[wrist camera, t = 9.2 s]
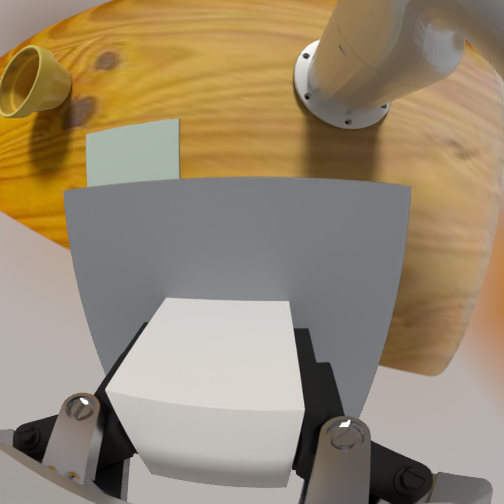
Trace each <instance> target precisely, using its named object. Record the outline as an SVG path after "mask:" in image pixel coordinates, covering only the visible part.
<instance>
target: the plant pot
mask: <svg viewBox="0 0 504 504" xmlns="http://www.w3.org/2000/svg"><path fill="white" fill-rule="evenodd" d="M71 85H72V77H71V74H70V72H69V71H68V70H67V69H66V68H64V67H63V66H62V65H61V64H59V63H58V62H57V61H56V60H55V58H54V56H53V54H52V53H51V52H50V51H49V50H47V49H44V48H42V47H39V46H36V45H30V46H27V47H25V48H23V49H22V50H20V51H19V52H18V53H17V54H16V55H15V56H14V57H13V58H12V60H11V61H10V62H9V64H8V66H7V67H6V69H5V71H4V73H3V75H2V78H1V80H0V114H1V115H2V116H3V117H5V118H23V117H27V116H29V115H30V114H32V113H33V112H37V111H42V110H48V109H54V108H56V107H58V106H60V105H61V104H62V103H63V102H64V101H65V99H66V98H67V96H68V94H69V92H70V89H71Z"/></svg>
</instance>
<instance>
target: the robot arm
mask: <svg viewBox="0 0 504 504" xmlns="http://www.w3.org/2000/svg"><path fill="white" fill-rule="evenodd" d="M465 39H466V40H467V41H468V42H469V43H470V44H471V45H472V46H473V47H474V48H475V49H476V50H477V51H478V52H479V53H480V54H481V55H482V56H483V57H484V59H485V60H487V61H488V62H489V63H490V64H491V66H492V67H493V68H494V69H495V70H496V72H497V73H498V74H499V75H500V77H501V78H502V79H503V81H504V0H338V2H337V4H336V6H335V9H334V11H333V13H332V15H331V17H330V19H329V22H328V24H327V26H326V28H325V30H324V32H323V35H322V37H321V39H319V40H317V41H314V42H312V43H311V44H309V45H308V46H306V47H305V48H304V49H303V50H302V51H301V53H300V55H299V56H298V58H297V60H296V63H295V67H294V72H293V75H294V85H295V89H296V92H297V94H298V96H299V98H300V100H301V101H302V103H303V104H304V106H305V107H306V108H307V109H308V110H309V111H310V112H311V113H312V114H313V115H314V116H316V117H317V118H318V119H320V120H321V121H323V122H325V123H327V124H329V125H332V126H335V127H338V128H343V129H360V128H365V127H368V126H370V125H373V124H374V123H376V122H378V121H379V120H380V119H381V118H382V117H383V116H384V115H385V114H386V113H387V111H388V110H389V108H390V105H391V102H392V101H394V100H396V99H398V98H401V97H403V96H405V95H408V94H410V93H412V92H415V91H417V90H419V89H422V88H424V87H427V86H429V85H432V84H434V83H437V82H439V81H441V80H443V79H445V78H447V77H448V76H449V75H451V74H452V73H453V72H454V71H455V69H456V68H457V66H458V65H459V63H460V61H461V59H462V55H463V51H464V46H465ZM304 57H306V58H307V59H304ZM306 96H307V97H309V99H308V100H307V99H305V97H306ZM381 106H382V107H383V108H381ZM345 121H347V122H348V125H347V124H345ZM148 323H149V322H144V323H143V325H142V326H141V328H140V329H139V330H138V332H137V333H136V335H135V336H134V338H133V339H132V340H131V342H130V343H129V345H128V346H127V348H126V349H125V351H124V352H123V353H122V354H121V355H120V356H119V358H118V359H117V361H116V362H115V364H114V365H113V367H112V368H111V370H110V371H109V373H108V374H107V376H106V377H105V379H104V380H103V382H102V383H101V385H100V386H99V388H98V389H97V391H96V392H95V394H94V395H91V394H88V393H77V394H74V395H72V396H70V397H68V398H67V399H66V400H65V402H64V403H63V405H62V407H61V410H60V412H59V414H58V415H54V416H51V417H47V418H44V419H41V420H37V421H33V422H29V423H26V424H23V425H21V426H19V427H18V428H17V429H16V431H14V430H13V429H8V430H0V504H132V503H129V502H127V492H128V478H129V465H130V457H133V455H134V453H136V454H138V452H137V450H136V449H135V447H134V445H133V444H132V442H131V440H130V438H129V437H128V435H127V433H126V431H125V429H124V427H123V426H122V424H121V422H120V420H119V418H118V416H117V414H116V412H115V410H114V408H113V406H112V404H111V402H110V400H109V397H108V395H107V393H106V391H105V389H106V387H107V385H108V384H109V382H110V381H111V379H112V378H113V376H114V374H115V373H116V371H117V370H118V368H119V367H120V365H121V364H122V362H123V361H124V359H125V358H126V356H127V354H128V353H129V351H130V350H131V348H132V347H133V345H134V344H135V342H136V341H137V339H138V338H139V336H140V335H141V333H142V332H143V331H144V329H145V328H146V326H147V325H148ZM293 330H294V337H295V343H296V350H297V357H298V363H299V370H300V377H301V385H302V392H303V399H304V407H305V411H304V416H303V421H302V426H301V430H300V435H299V439H298V444H297V448H296V452H295V456H294V460H293V464H292V470H296V474H297V475H298V476H300V477H301V478H303V479H304V482H303V486H302V490H301V495H300V499H299V502H298V504H490V503H491V499H492V493H493V488H492V486H491V483H489V481H487V480H486V479H483V478H474V477H467V476H460V475H454V474H449V473H443V472H438V473H437V474H433V473H431V471H430V469H429V468H428V467H427V466H425V465H423V464H422V463H420V462H417V461H415V460H412V459H410V458H408V457H405V456H403V455H401V454H399V453H396V452H394V451H392V450H390V449H388V448H386V447H383V446H381V445H379V444H377V443H375V442H373V441H371V436H370V430H369V428H368V427H367V425H366V424H365V423H364V422H362V421H361V420H359V419H357V418H355V417H350V416H345V414H344V410H343V406H342V402H341V399H340V395H339V391H338V388H337V384H336V381H335V377H334V373H333V370H332V366H331V364H330V362H318V363H317V362H316V358H315V353H314V349H313V345H312V341H311V336H310V332H309V329H308V328H293Z"/></svg>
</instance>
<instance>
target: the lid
mask: <svg viewBox="0 0 504 504" xmlns="http://www.w3.org/2000/svg"><path fill="white" fill-rule="evenodd" d="M63 192H64V204H65V214H66V222H67V230H68V237H69V243H70V249H71V255H72V260H73V266H74V271H75V275H76V280H77V284H78V288H79V292H80V297H81V301H82V304H83V308H84V312H85V315H86V319H87V322H88V325H89V329H90V332H91V335H92V338H93V341H94V344H95V347H96V350H97V353H98V356H99V359H100V361H101V364H102V367H103V369H104V372H105V374H106V376H107V374H108V373H109V371H110V370H111V368H112V367H113V365H114V364H115V362H116V361H117V359H118V358H119V356H120V355H121V354H122V353H123V352H124V351H125V349H126V348H127V346H128V345H129V343H130V342H131V340H132V339H133V338H134V336H135V335H136V333H137V332H138V330H139V329H140V328H141V326H142V325H143V323H144V322H149V323H148V325H147V326H146V328H145V329H144V331H143V332H142V333H141V335H140V336H139V338H138V339H137V341H136V342H135V344H134V345H133V347H132V348H131V350H130V351H129V353H128V354H127V356H126V358H125V359H124V361H123V362H122V364H121V365H120V367H119V368H118V370H117V371H116V373H115V374H114V376H113V378H112V379H111V381H110V382H109V384H108V385H107V387H106V389H105V391H106V393H107V395H108V397H109V400H110V402H111V404H112V406H113V408H114V410H115V412H116V414H117V416H118V418H119V420H120V422H121V424H122V426H123V427H124V429H125V431H126V433H127V435H128V437H129V438H130V440H131V442H132V444H133V445H134V447H135V449H136V450H137V452H138V454H139V455H140V457H141V458H142V460H143V461H144V463H145V465H146V466H147V468H148V469H149V471H150V472H151V474H155V475H159V476H164V477H168V478H173V479H179V480H184V481H191V482H197V483H205V484H213V485H223V486H235V487H236V486H237V487H259V488H275V487H277V488H279V487H286V486H287V483H288V480H289V476H290V472H291V468H292V464H293V460H294V456H295V452H296V448H297V444H298V439H299V435H300V430H301V426H302V421H303V416H304V411H305V407H304V399H303V392H302V385H301V377H300V370H299V363H298V357H297V350H296V343H295V337H294V330H293V328H308V329H309V332H310V336H311V341H312V345H313V349H314V353H315V358H316V362H317V363H318V362H330V364H331V366H332V370H333V373H334V377H335V381H336V384H337V388H338V391H339V395H340V399H341V402H342V406H343V410H344V414H345V416H350V417H355V418H357V419H359V416H360V414H361V411H362V409H363V406H364V404H365V401H366V399H367V396H368V393H369V390H370V388H371V385H372V382H373V379H374V376H375V373H376V370H377V367H378V364H379V361H380V358H381V355H382V351H383V348H384V345H385V341H386V338H387V334H388V330H389V326H390V322H391V318H392V314H393V310H394V306H395V301H396V297H397V292H398V287H399V282H400V277H401V271H402V266H403V260H404V253H405V246H406V239H407V231H408V222H409V213H410V201H411V186H406V185H400V184H392V183H382V182H371V181H359V180H345V179H328V178H306V177H203V178H181V179H164V180H150V181H138V182H127V183H117V184H108V185H99V186H91V187H83V188H76V189H71V190H67V191H63Z"/></svg>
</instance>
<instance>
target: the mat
mask: <svg viewBox="0 0 504 504" xmlns="http://www.w3.org/2000/svg"><path fill="white" fill-rule="evenodd" d="M86 168H87V187H91V186H99V185H108V184H117V183H127V182H138V181H150V180H164V179H180V119H170V120H162V121H155V122H148V123H141V124H135V125H129V126H124V127H118V128H113V129H108V130H103V131H99V132H94V133H90V134H86Z"/></svg>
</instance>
